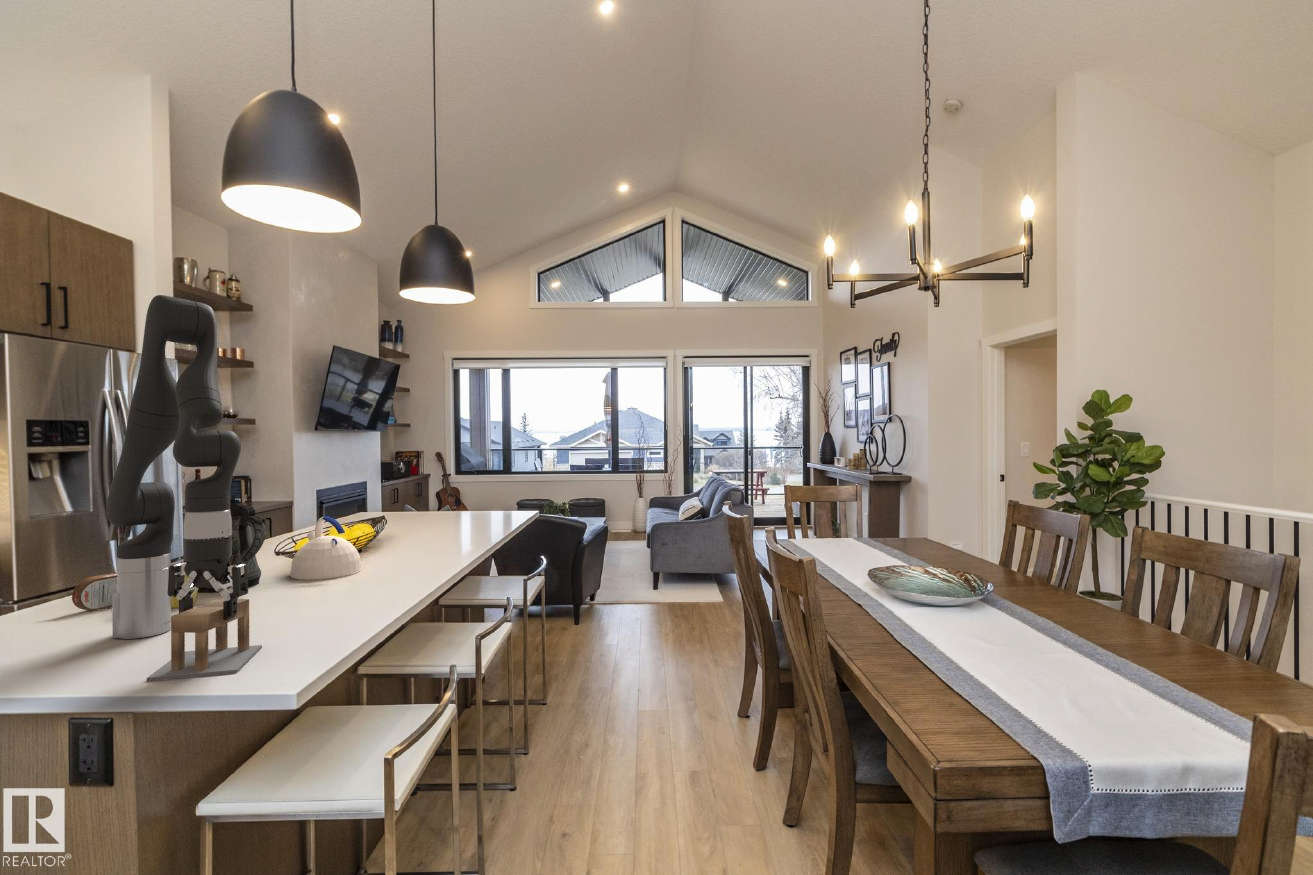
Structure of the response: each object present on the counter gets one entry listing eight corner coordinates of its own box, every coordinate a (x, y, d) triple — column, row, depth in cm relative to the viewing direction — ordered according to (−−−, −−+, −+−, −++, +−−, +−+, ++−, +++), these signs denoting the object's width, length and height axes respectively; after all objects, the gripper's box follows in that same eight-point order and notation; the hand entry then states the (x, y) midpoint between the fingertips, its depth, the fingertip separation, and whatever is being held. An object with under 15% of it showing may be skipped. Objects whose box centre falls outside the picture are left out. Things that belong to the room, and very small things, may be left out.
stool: (220, 598, 126) (171, 615, 114) (249, 599, 125) (202, 616, 113) (220, 647, 126) (171, 670, 114) (249, 648, 125) (202, 671, 114)
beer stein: (206, 581, 186) (206, 498, 186) (279, 577, 191) (279, 496, 191) (181, 595, 170) (180, 504, 170) (261, 590, 175) (261, 501, 175)
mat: (146, 681, 110) (146, 677, 110) (181, 654, 124) (181, 651, 124) (237, 672, 114) (237, 669, 114) (261, 647, 128) (261, 644, 128)
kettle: (341, 563, 213) (341, 510, 212) (374, 571, 200) (374, 515, 200) (277, 574, 196) (277, 517, 196) (309, 583, 184) (309, 522, 184)
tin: (140, 598, 166) (140, 567, 166) (148, 600, 165) (148, 568, 165) (70, 613, 152) (70, 579, 152) (78, 615, 151) (78, 580, 151)
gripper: (155, 537, 116) (155, 623, 116) (229, 537, 115) (229, 625, 115) (188, 530, 123) (188, 612, 123) (257, 531, 122) (257, 613, 122)
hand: (208, 618), depth 119 cm, fingers open, 8 cm apart
